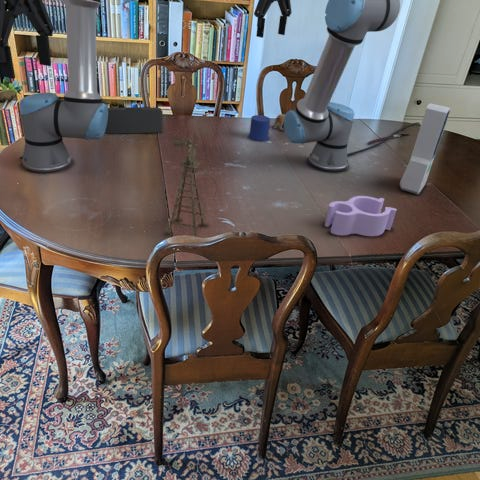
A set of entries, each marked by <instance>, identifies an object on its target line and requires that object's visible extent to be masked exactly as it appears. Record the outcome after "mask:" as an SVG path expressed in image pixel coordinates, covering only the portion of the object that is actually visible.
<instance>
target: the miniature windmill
mask: <svg viewBox="0 0 480 480" xmlns="http://www.w3.org/2000/svg"><path fill="white" fill-rule="evenodd" d="M194 131H195V132H198V129H197V128H194ZM190 137H191V138H190V139H189V141H188V142H185V141H184V140H183V139H180V138H177V137H172V147H185V146H187V148H188V150H187V155H186V158H184V159H183V160H182V162H181V163H179V164H178V166H179V167H183V170H182V172H181V179H180V180H179V182H180V183H179V187H178V188H177V195H176V197H175V203H174V205H173V210H172V212H171V219H170V220H169V227H168V231H167V234H168V235H170V234H171V231H172V227H173V225H180V226H184V227H191V228H193V237H194V236H196V237H197V238H198V236H197V227H198V225H199V224H200V222H201V226H205V221H204V215H205V213H203V210H202V205H201V197H200V193H199V185H198V183H197V175H196V173H197V172H196V170H195V169H197V168H198V167H199V166H200V165H201V163H202V162H200V161H199V160H195V159H196V156H197V151H198V146H199V143H197V142H199V133H194V136H193V134H190ZM188 172H189V174H187V173H188ZM186 178H189V180H190V182H186ZM193 181H194V182H193ZM185 185H189V186H190V190H189V189H188V190H187V189H185ZM184 192H185V193H190V194H191V196H190V195H189V196H188V195H184ZM194 193H195V194H196V196H195V197H194ZM183 198H188V199H191V206H189V205H188V206H187V205H183V204H182V203H183V202H182V201H183ZM195 200H197V202H196V203H195ZM197 206H198V211H199V212H196V211H195V210H196V208H197ZM177 208H178V209H177ZM181 208H186V209H190V210H192V211H190V210H185V209H181ZM181 212H184V213H189V214H192V224H187V223H181V222H179V221H180V214H181ZM196 215H199V218H198V221H197V222H196ZM175 216H176V221H177V222H176V221H174V220H175Z"/></svg>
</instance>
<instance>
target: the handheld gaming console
mask: <svg viewBox="0 0 480 480" xmlns="http://www.w3.org/2000/svg"><path fill="white" fill-rule="evenodd" d="M163 113H164V111H163V110H162V109H161V107H150V106H138V107H136V106H135V107H134V106H131V107H130V106H129V107H128V106H126V107H125V106H124V107H123V106H122V107H121V106H120V107H119V106H117V107H108V121H107V126H106V130H105V133H107V134H149V133H151V134H152V133H162V131H163V130H164V129H163V118H164V117H163Z"/></svg>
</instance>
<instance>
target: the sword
mask: <svg viewBox="0 0 480 480" xmlns="http://www.w3.org/2000/svg"><path fill="white" fill-rule="evenodd" d="M401 134H402V133H399V132H398V133H396V134H395V135H393V136H391V137H389V136H390V135H389V136H383V137H379V138H376V139H372V140H370V141H368V143H367V144H368V145H372V144H373V143H378V142H381V141H383V140H385V139H386V138H388V137H389V139H393V138H400V137H402V136H406V135H409V134H404V135H401Z"/></svg>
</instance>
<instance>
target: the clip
mask: <svg viewBox="0 0 480 480" xmlns="http://www.w3.org/2000/svg"><path fill="white" fill-rule="evenodd" d="M384 201H385V198H383V197H379V198H376V197H373V196H368V195H357V196H352V197H350V198H349V200H347V201H339V200H338V201H337V200H335V201H332V202H330V203H329V205H328V208H327V214H326V218H325V222H324V227H326V228H329V227H330V226H331V227H330V233H331V234H333V235H336V236H348V235H353V234H356V235H360V236H364V237H365V236H366V237H378V236H381V235H382V234H384V232H385V230H387V231H391V229H392V226H393V222H394V219H395V216H396V213H397V210H398V209H397V208H395V207H391V206H385V207H384V211H383V212H382V209H383V206H384Z"/></svg>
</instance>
